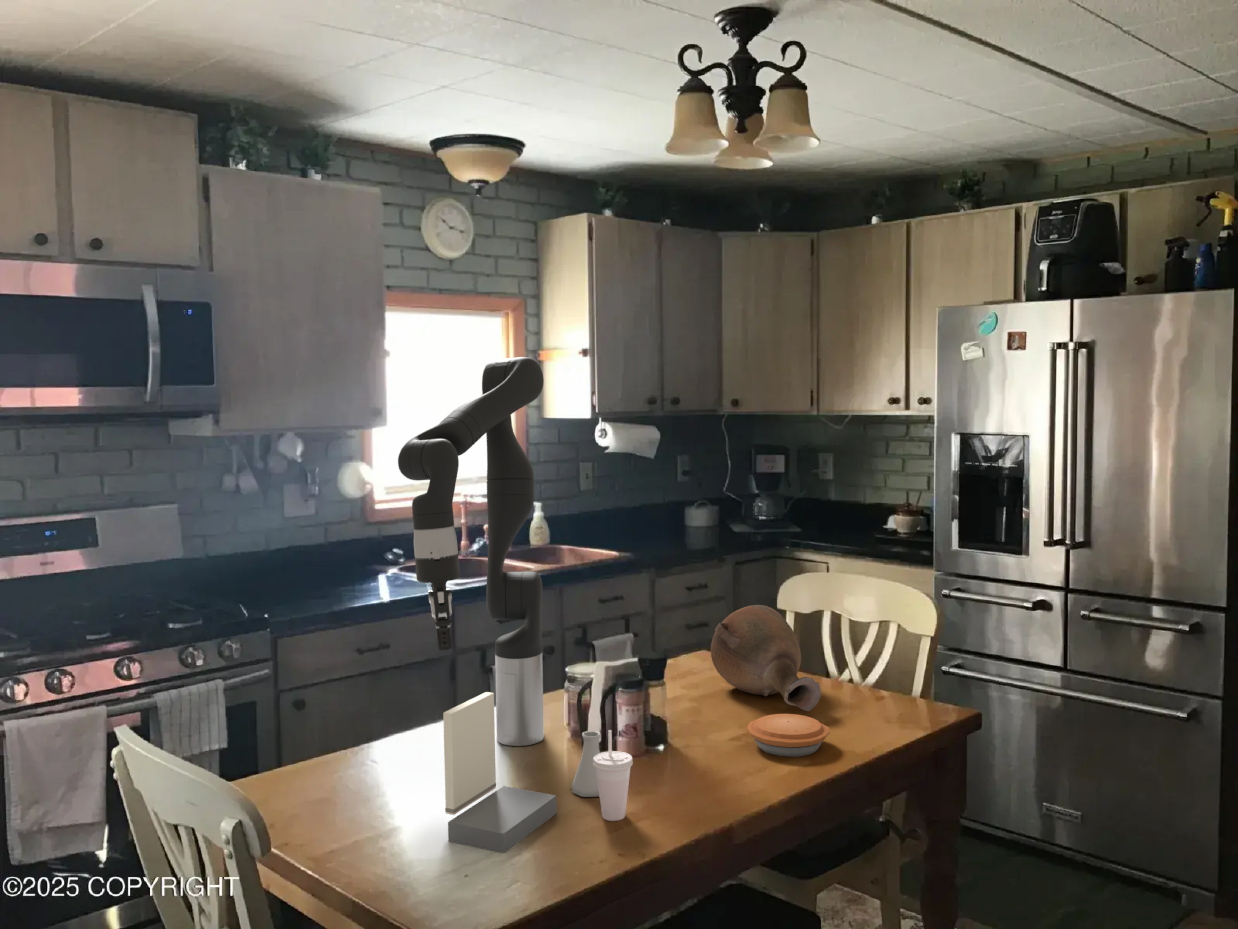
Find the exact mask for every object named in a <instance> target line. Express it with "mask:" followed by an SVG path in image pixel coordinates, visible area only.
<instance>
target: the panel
mask: <svg viewBox="0 0 1238 929" xmlns="http://www.w3.org/2000/svg"><path fill="white" fill-rule="evenodd" d="M442 715H443V716H442V717H443V720H442V721H443V751H444V753H443V754H444V787H445V789H444V792H445V794H444V796H445V797H444V798H445V799H444V800H445V808H444V810H445V814H447V815H452V816H455V815H456V814H458V813H459V812H461V811H462V810H464V809H466V808H467V807H468V806H471V805H472V804H473V803H474V802H476V801H478V800H479V799H481V798H483V797H484V796H486V795H488V794H489V793H490V792H492V791H494V790H495V789H496V788H497V782H496V781H497V780H496V778H497V777H496V774H497V772H496V743H495V742H496V737H495V736H496V734H495V732H496V731H495V728H496V725H495V693H494V692H489V691H485V692H483V693H481V694H479V695H477V696H475V697H473V698H470V699H468V700H466V701H465V702H463V703H460V704H458V705H456V706H454V707H452V708H450V709H448V710H446V711H444V712H443V714H442Z"/></svg>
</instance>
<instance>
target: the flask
mask: <svg viewBox="0 0 1238 929" xmlns="http://www.w3.org/2000/svg"><path fill="white" fill-rule="evenodd" d="M581 737H582V739H583V747H582V751H581V752H582V754H581V757H580V760H579V763H578V767H577V770H576V771H575V774H574V778H573V780H572V784H571V793H573V794H575V795H577V796H580V797H581V798H591V797H599V789H598V782H597V775H596V767H595V766H594V765H593V762H594V760H593V758H594V756H595V755H597V754H599V753H601V751H600V743H599V741H600V740H599V739H600V738H601V732H599V731H596V730H587V731H583V732H581Z"/></svg>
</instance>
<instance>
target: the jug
mask: <svg viewBox="0 0 1238 929" xmlns="http://www.w3.org/2000/svg"><path fill="white" fill-rule="evenodd" d="M714 631H715V632H714V634H713V636H712V639H711V644H710V657H711V661H712V664H713V666H714V668H715V670H716V672H717V673H718V674H719V675H720V677H721V678H723V680H725V681H726V683H728V684H729V685H731V686H732V687H734V688H735V689H738V690H740V691H743V692H745V693H748V694H752V695H756V696H757V695H758V696H759V695H760V696H764V697H768V696H771V695H775V694H778V693H780V694H781V696H782V697H783V699H784V703H786V704H788V705H790V706H792V707H793V706H794V707H795V706H796V707H797V708H799V709H801V710H802V711H806V712H811V711H812V710H813V709H814V708H815V707H816V705H817V704H818V703H819V701H820V700H821V696H822V689H821V685H820V682H818V681H816V680H815V679H814V678H812V677H807V676H803V677H800V678H799V676H798V673H799V670H800V666H801V663H802V654H801V647H800V644H799V641H798V637H797V636H796V634H795V632H794V630H793V629H792V627H791V625H790V624H789V622H787V620H786V619H785V618H784V617H783V615H782V614H781V613H780V612H778V611H777V610H775V609H774V608H772V607H769V606H768V605H762V604H754V605H747V606H745V607H742V608H740V609H737V610H735V611H733V612H731V613H730V614H729V615H727V616H726V617H725V618H724V619H723V620H722V622H719V623H718V624H717V625H716V627H715V629H714Z"/></svg>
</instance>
